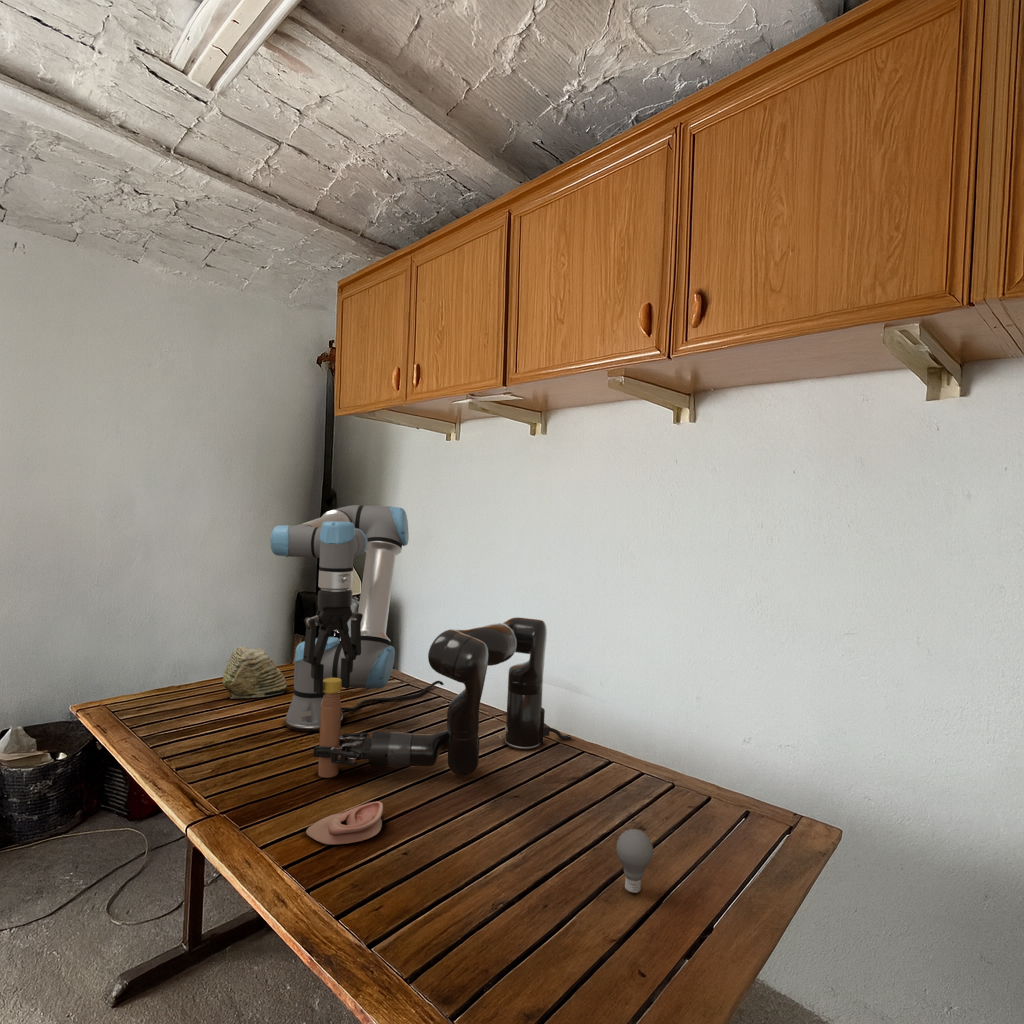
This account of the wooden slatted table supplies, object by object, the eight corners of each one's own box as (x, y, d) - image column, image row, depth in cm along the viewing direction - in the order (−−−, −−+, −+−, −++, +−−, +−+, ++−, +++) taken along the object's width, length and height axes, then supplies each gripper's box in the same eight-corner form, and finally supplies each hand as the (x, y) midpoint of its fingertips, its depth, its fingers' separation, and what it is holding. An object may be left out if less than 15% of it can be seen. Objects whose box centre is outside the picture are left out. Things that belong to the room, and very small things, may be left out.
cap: (322, 687, 146) (323, 677, 146) (341, 687, 147) (342, 677, 147) (321, 693, 142) (321, 683, 142) (340, 693, 143) (341, 682, 143)
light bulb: (610, 879, 108) (613, 822, 108) (644, 879, 109) (647, 822, 109) (619, 902, 102) (622, 840, 102) (655, 901, 103) (658, 840, 103)
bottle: (343, 772, 146) (346, 682, 145) (327, 779, 142) (330, 686, 142) (329, 767, 148) (333, 678, 148) (313, 774, 144) (317, 682, 144)
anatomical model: (298, 818, 116) (328, 791, 128) (297, 839, 116) (327, 810, 128) (365, 829, 114) (390, 800, 125) (364, 851, 114) (389, 820, 125)
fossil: (218, 695, 195) (220, 647, 195) (278, 685, 208) (279, 640, 207) (228, 703, 189) (230, 653, 188) (289, 692, 201) (290, 645, 201)
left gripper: (304, 594, 135) (300, 702, 135) (380, 588, 149) (376, 686, 149) (288, 589, 140) (284, 693, 140) (362, 584, 154) (358, 678, 154)
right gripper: (397, 722, 153) (325, 719, 152) (387, 745, 138) (308, 742, 138) (396, 753, 153) (324, 750, 152) (386, 779, 138) (307, 777, 138)
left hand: (331, 689), depth 145 cm, fingers open, 6 cm apart
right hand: (317, 747), depth 145 cm, fingers closed on bottle, 4 cm apart
